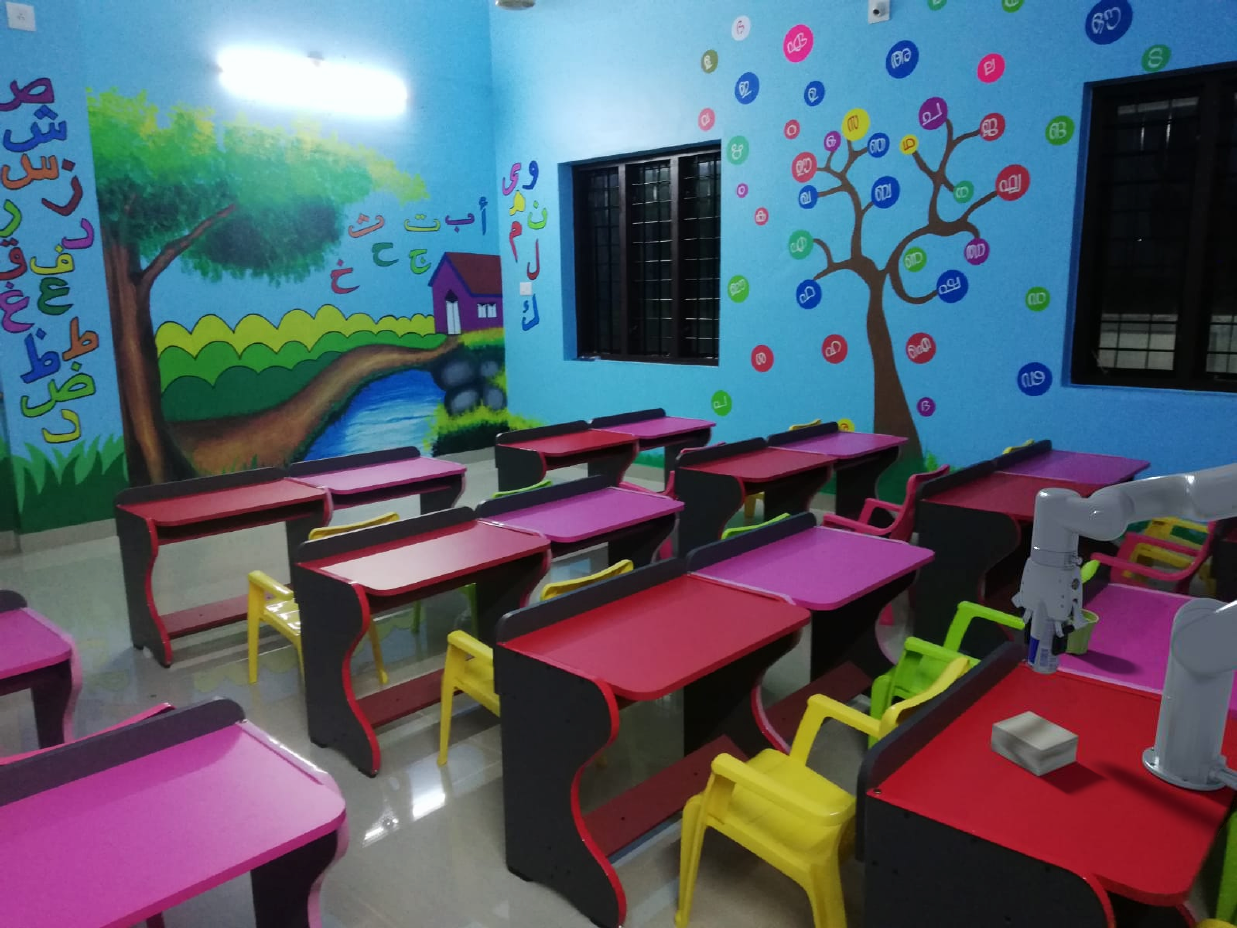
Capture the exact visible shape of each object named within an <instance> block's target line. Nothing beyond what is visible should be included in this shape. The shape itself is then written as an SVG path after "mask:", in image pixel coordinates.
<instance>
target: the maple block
mask: <svg viewBox="0 0 1237 928" xmlns="http://www.w3.org/2000/svg"><path fill="white" fill-rule="evenodd" d="M1078 741H1079V735H1078V734H1075V733H1074V732H1071V731H1070V730H1068V729H1065V728H1063V727H1061V726H1059V725H1058V724H1055V723H1053V722H1051V721H1049V720H1047V719H1046V718H1043V717H1041V716H1040V715H1037V714H1035V713H1034V712H1032V711H1025V712H1023V713H1021V714H1018V715H1015V716H1013V717H1009V718H1006V719H1004V720H1001V721H998V722H995V723H993V724H992V732H991V741H990V750H991V751H994V752H995V753H997V754H999V755H1001V757H1003V758H1006V759H1007V760H1009V761H1010V762H1012V763H1014V764H1016V765H1017V766H1019V767H1022V768H1023V769H1024V770H1027V771H1029V772H1030V773H1031V774H1034V775H1036V776H1037V777H1040V776H1043V775H1045V774H1047V773H1050V772H1053V771H1054V770H1058V769H1060V768H1062V767H1065V766H1067V765H1069V764H1072V763H1074V762H1076V756H1077V749H1078V744H1079V743H1078Z"/></svg>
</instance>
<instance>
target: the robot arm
mask: <svg viewBox="0 0 1237 928" xmlns="http://www.w3.org/2000/svg"><path fill="white" fill-rule="evenodd" d="M1034 501H1035V502H1034V513H1033V514H1034V515H1033V516H1034V517H1033V525H1032V526H1033V528H1032V536H1031V549H1030V556H1029V557H1028V558H1027V560H1026V562H1025V565H1024V568H1023V573H1022V577H1021V583H1020V587H1019V589H1020V590H1019V591H1018V592H1017V593H1016V594H1015V595H1014V596H1013V597H1012V598H1011V601H1012V603H1013V604H1014V606H1015V607H1016V608H1017V611H1018V612H1019V615H1021V617H1022V618H1021V620H1022V623H1023V624H1024V632H1023V636H1024V638H1023V640H1024V641H1023V644H1025V645H1030V635H1031V624H1032V613H1033V610H1034V606H1035V602H1036V600H1041V599H1039V598H1042V599H1045V600H1042V601H1044V602H1045V603H1046V606H1047V612H1048V616H1049V617H1050V618H1052V619H1054V621H1055V627H1056V633H1057V634H1056V635H1054V636H1053V643H1052V655H1054V656H1057V655H1059V656H1060V655H1063V654H1065V653H1066V650H1067V643H1068V634H1071V633H1072V632H1074V631H1075V630H1077V629H1079V628H1082V627H1084V626H1086V625H1087V622H1086V620H1085V618H1084V616H1083V614H1082V609H1083V576H1082V572H1081V567H1080V566H1079V565H1081V564H1082V563H1083V558H1082V557H1079V556H1078V551H1079V550H1078V545H1079V536H1082V537H1086V538H1089V539H1093V540H1096V541H1103V542H1104V541H1105V542H1107V541H1113V540H1115V539H1118V538H1120V537H1121V536H1122V535H1123V534H1124V533H1125V532H1126V530H1127V528H1128V526H1129V524H1133V523H1139V522H1145V521H1148V520H1149V521H1150V520H1155V519H1162V518H1163V519H1165V518H1182V519H1187V520H1191V521H1194V522H1201V523H1203V522H1204V523H1205V522H1206V523H1207V522H1208V523H1209V522H1214V521H1219V520H1223V519H1224V520H1225V519H1230V518H1234V517H1237V462H1233V463H1229V464H1225V465H1219V466H1216V467H1211V468H1210V467H1209V468H1205V469H1201V470H1195V471H1190V472H1183V473H1182V472H1181V473H1176V474H1175V473H1174V474H1169V475H1159V476H1154V477H1153V476H1152V477H1146V478H1142V479H1137V480H1133V481H1127V482H1122V483H1118V484H1114V485H1109V486H1106V487H1103V488H1101V489H1098V490H1096V491H1094V492H1093V493H1092V494H1091V496H1089V497H1088V498H1087V497H1082V495H1080V493H1078V492H1077V491H1075V490H1072V489H1069V488H1062V487H1061V488H1060V487H1046V488H1042V489H1041V490H1039V491H1038V492H1037V494H1036V496H1035V500H1034ZM1037 597H1039V598H1037ZM1070 617H1073V619H1074V623H1072V624H1071V622H1070ZM1062 622H1063V623H1062ZM1063 626H1064V628H1063ZM1169 640H1170V641H1169V650H1168V651H1169V652H1168V659H1167V663H1166V664H1167V665H1166V671H1165V676H1164V677H1165V678H1164V683H1163V689H1162V696H1161V702H1160V709H1159V715H1158V721H1157V728H1156V735H1155V742H1154V745H1153V746H1152V747H1148V748H1146V749H1145V750H1143V753H1142V760H1141V761H1142V764H1143V766H1144V767H1145V768H1146V769H1147V770H1148V771H1149V772H1150V773H1152V774H1153V775H1154V776H1155V777H1158V778H1160V779H1162V780H1163V781H1165V782H1167V783H1170V784H1172V785H1175V786H1178V787H1180V788H1185V789H1190V790H1195V791H1216V790H1217V791H1218V790H1220V789H1222V788H1224V787H1225V786H1227V787H1229V788H1231V789H1232V790H1235V791H1237V771H1236V770H1234V769H1231V768H1230V767H1228V765H1226V762H1227V756H1225V755H1223V754H1221V751H1222V745H1223V742H1224V741H1223V740H1224V734H1225V728H1226V723H1227V719H1228V718H1227V716H1228V712H1229V705H1230V700H1231V697H1232V696H1231V695H1232V692H1233V691H1232V689H1233V683H1234V678H1235V673H1236V671H1237V599H1235V600H1233V601H1231V602H1229V603H1227V604H1226V603H1224V602H1222V601H1221V600H1218V599H1214V598H1209V597H1201V598H1199V597H1198V598H1194V599H1191V600H1189V601H1188V602H1186V603H1184V604H1183V605H1182V606H1180V608H1179V609H1178V610H1177V611H1176V613H1175V615H1174V618H1173V622H1172V625H1171V634H1170V639H1169Z"/></svg>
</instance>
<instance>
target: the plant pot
mask: <svg viewBox="0 0 1237 928" xmlns="http://www.w3.org/2000/svg"><path fill="white" fill-rule="evenodd" d="M1082 614H1083V616H1084V618H1085V620H1086V622H1087V625H1086V626H1084V627H1082V628H1079V629H1077V630H1075V631H1074V632H1072V633H1071V634H1068V643H1067V650H1066V652H1065V653H1066V654H1075V655H1079V656H1081V655H1084V654H1086V653H1087V651H1088V648H1089V644H1090V641H1091V637H1092V635H1093V634H1092V633H1093V631H1094V628H1095V627H1096V624H1097V623H1099V620H1100V618H1099V616H1098V615H1097V614H1096V613H1094V612H1092V611H1090V610H1086V609H1083V608H1082ZM1070 622H1071V624H1072V623H1074V619H1073V617H1070ZM1062 623H1063V622H1062ZM1063 628H1064V626H1063Z"/></svg>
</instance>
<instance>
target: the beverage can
mask: <svg viewBox="0 0 1237 928" xmlns="http://www.w3.org/2000/svg"><path fill="white" fill-rule="evenodd" d="M1037 598H1039V597H1037ZM1039 599H1041V600H1036V602H1035V606H1034V610H1033V613H1032V624H1031V635H1030V644H1029V647H1028V648H1029V649H1028V657H1027V658H1028V659H1027V665H1028V666H1029V667H1030V668H1031V670H1032V671H1034V672H1036V673H1039V674H1045V675H1050V674H1053V673H1055V672H1056V671H1058V668H1059V662H1060V661H1059V660H1060V655H1057V656H1054V655H1052V643H1053V636H1054V635H1056V634H1057V633H1056V627H1055V621H1054V619H1052V618H1050V617H1049V616H1048V612H1047V606H1046V603H1045V602H1044V601H1042V600H1045V599H1042V598H1039Z"/></svg>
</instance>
